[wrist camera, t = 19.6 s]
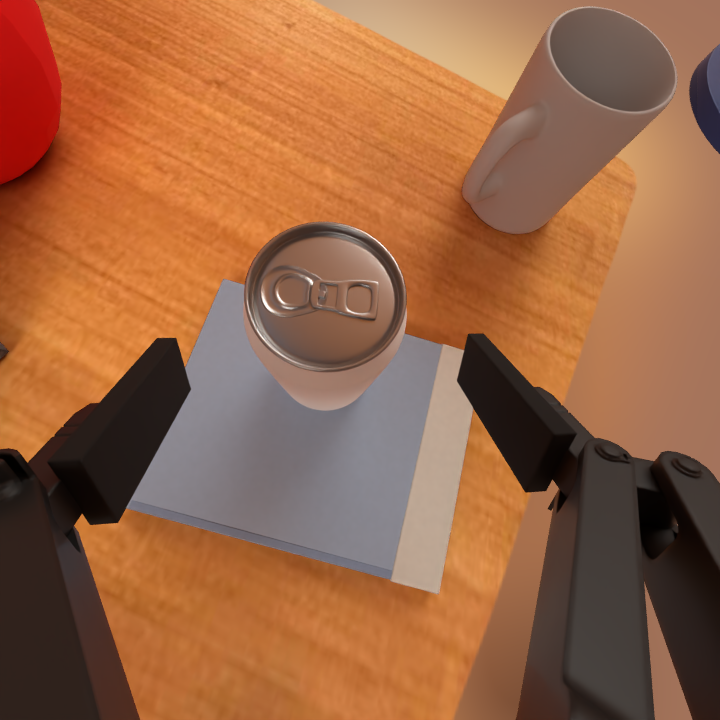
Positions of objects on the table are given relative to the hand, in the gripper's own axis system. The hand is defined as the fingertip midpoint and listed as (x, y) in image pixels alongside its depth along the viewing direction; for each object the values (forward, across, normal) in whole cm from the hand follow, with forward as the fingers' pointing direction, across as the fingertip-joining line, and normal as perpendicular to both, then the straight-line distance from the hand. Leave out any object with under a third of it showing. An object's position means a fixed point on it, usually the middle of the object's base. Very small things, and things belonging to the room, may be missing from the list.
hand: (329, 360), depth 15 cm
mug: (+18, +15, +5) cm, 24 cm away
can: (+7, 0, -4) cm, 8 cm away
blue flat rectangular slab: (+4, 0, -8) cm, 9 cm away
